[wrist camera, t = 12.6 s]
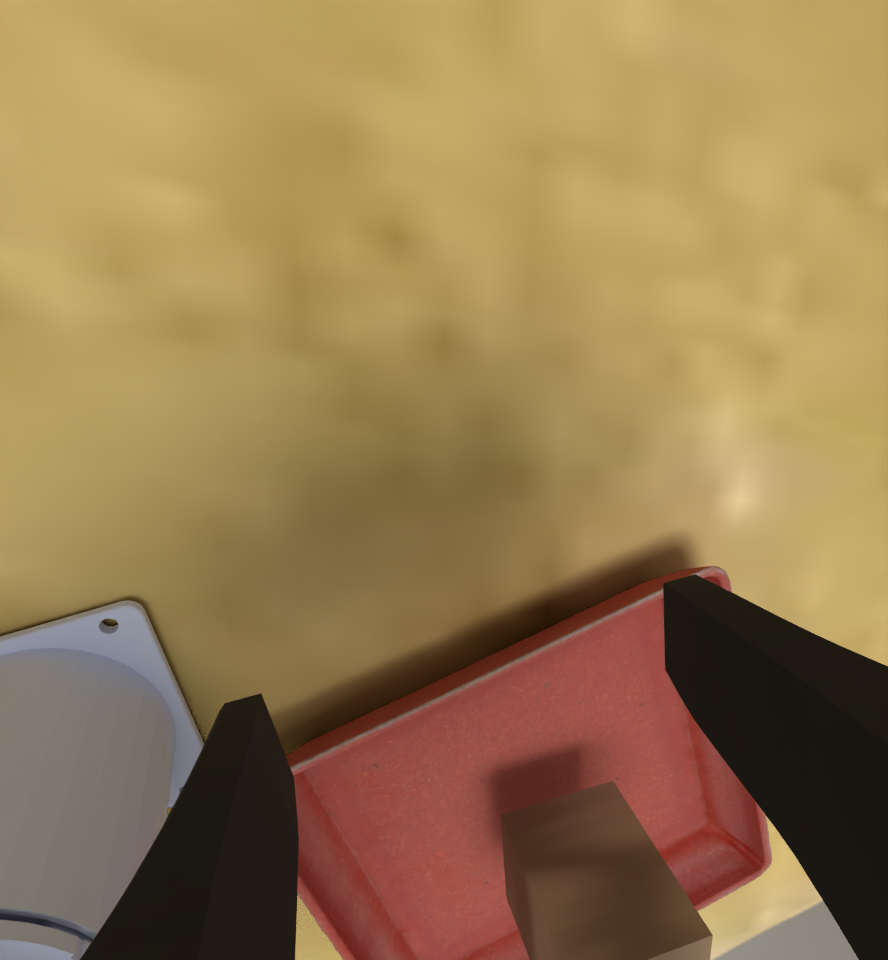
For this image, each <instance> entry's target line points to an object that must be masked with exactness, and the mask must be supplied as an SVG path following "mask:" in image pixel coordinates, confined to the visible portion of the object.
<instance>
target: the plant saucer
mask: <svg viewBox="0 0 888 960" xmlns="http://www.w3.org/2000/svg"><path fill="white" fill-rule="evenodd" d="M694 574H695V575H698V576H700V577H702V578H704V579H706V580H708V581H710V582H712V583H714V584H716V585H718V586H720V587H722V588H724V589H726V590H728V591H730V592H732V590H731V585H730V580H729V578H728V575H727V573H726V571H724V570H723V569H721V568H720V567H717V566H709V567H699V568H692V569H686V570H682V571H678V572H675V573H671V574H668V575H665V576H661V577H658V578H655V579H652V580H649V581H647V582H644V583H641V584H639V585H636V586H634V587H632V588H630V589H628V590H625V591H623V592H621V593H619V594H617V595H615V596H613V597H611V598H609V599H607V600H605V601H603V602H600V603H598V604H596V605H594V606H592V607H590V608H588V609H585V610H583V611H581V612H579V613H577V614H575V615H573V616H571V617H569V618H567V619H565V620H563V621H561V622H559V623H557V624H555V625H553V626H551V627H549V628H547V629H545V630H542V631H540V632H538V633H536V634H534V635H532V636H530V637H528V638H526V639H523V640H521V641H519V642H517V643H515V644H513V645H511V646H509V647H507V648H505V649H503V650H501V651H499V652H496V653H494V654H492V655H490V656H488V657H486V658H484V659H481V660H479V661H477V662H475V663H473V664H471V665H469V666H467V667H465V668H463V669H461V670H458V671H456V672H454V673H452V674H450V675H448V676H446V677H444V678H442V679H439V680H437V681H435V682H433V683H431V684H429V685H427V686H425V687H423V688H421V689H419V690H417V691H414V692H412V693H410V694H408V695H406V696H404V697H402V698H399V699H397V700H395V701H393V702H391V703H389V704H387V705H385V706H382V707H380V708H378V709H376V710H374V711H372V712H370V713H368V714H365V715H363V716H361V717H359V718H357V719H355V720H353V721H351V722H349V723H346V724H344V725H342V726H340V727H338V728H336V729H334V730H332V731H330V732H328V733H325V734H323V735H321V736H319V737H317V738H315V739H313V740H311V741H310V742H308V743H306V744H304V745H303V746H301V747H300V748H298V749H297V750H295V751H293V752H292V753H290V754H289V755H287V756H286V758H287V761H288V763H289V766H290V768H291V771H292V774H293V776H294V783H295V795H296V806H297V819H298V833H299V852H298V885H297V894H298V895H299V897H300V898H301V900H302V901H303V903H304V904H305V906H306V907H307V908H308V910H309V911H310V913H311V914H312V916H313V917H314V918H315V920H316V922H317V924H318V926H319V927H320V928H321V930H322V931H323V932H324V933H325V934H326V935H327V937H328V938H329V940H330V941H331V943H332V944H333V946H334V948H335V949H336V950H337V951H338V952H339V954H340V955H341V957H342V959H343V960H530V959H529V956H528V953H527V951H526V948H525V946H524V943H523V940H522V938H521V935H520V932H519V930H518V927H517V925H516V922H515V919H514V917H513V914H512V911H511V909H510V906H509V904H508V901H507V898H506V886H505V871H504V857H503V843H502V829H501V815H503V814H506V813H510V812H513V811H516V810H519V809H523V808H526V807H529V806H533V805H536V804H539V803H542V802H546V801H549V800H552V799H555V798H559V797H562V796H565V795H569V794H572V793H575V792H578V791H582V790H585V789H588V788H591V787H595V786H598V785H601V784H605V783H608V782H611V781H613V782H614V783H615V785H616V786H617V788H618V789H619V791H620V792H621V794H622V795H623V797H624V799H625V800H626V802H627V803H628V805H629V806H630V808H631V809H632V811H633V813H634V814H635V816H636V817H637V819H638V820H639V822H640V823H641V825H642V827H643V828H644V830H645V831H646V833H647V834H648V836H649V837H650V839H651V840H652V842H653V844H654V845H655V847H656V848H657V850H658V851H659V853H660V854H661V856H662V858H663V859H664V861H665V862H666V864H667V865H668V867H669V868H670V870H671V871H672V873H673V875H674V876H675V878H676V879H677V881H678V882H679V884H680V885H681V887H682V889H683V890H684V892H685V893H686V895H687V896H688V898H689V899H690V901H691V903H692V904H693V906H694V907H695V909H696V910H697V911H699V910H701V909H703V908H705V907H707V906H709V905H710V904H711V903H713V902H715V901H717V900H719V899H721V898H723V897H724V896H726V895H728V894H730V893H732V892H734V891H736V890H737V889H738V888H740V887H742V886H744V885H746V884H748V883H749V882H751V881H753V880H754V879H756V878H757V877H759V876H761V875H762V874H763V873H764V872H765V871H766V870H767V869H768V868H769V866H770V865H771V862H772V852H771V847H770V842H769V832H768V825H767V820H766V815H765V813H764V812H763V811H762V809H761V808H760V807H759V805H758V804H757V803H756V801H755V800H754V799H753V797H752V796H751V795H750V794H749V792H748V791H747V790H746V788H745V787H744V786H743V784H742V783H741V782H740V780H739V779H738V778H737V776H736V775H735V774H734V773H733V771H732V770H731V769H730V767H729V766H728V765H727V763H726V762H725V761H724V759H723V758H722V757H721V755H720V754H719V753H718V751H717V750H716V749H715V747H714V746H713V745H712V743H711V742H710V741H709V739H708V738H707V737H706V735H705V734H704V733H703V731H702V730H701V729H700V727H699V726H698V724H697V723H696V722H695V720H694V719H693V717H692V716H691V714H690V712H689V711H688V709H687V707H686V706H685V704H684V702H683V700H682V699H681V697H680V695H679V694H678V692H677V690H676V688H675V686H674V685H673V683H672V681H671V679H670V677H669V676H668V674H667V672H666V670H665V642H664V594H663V583H665V582H669V581H672V580H676V579H680V578H683V577H687V576H691V575H694Z"/></svg>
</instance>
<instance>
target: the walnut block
mask: <svg viewBox="0 0 888 960" xmlns="http://www.w3.org/2000/svg"><path fill="white" fill-rule="evenodd" d="M501 829H502V843H503V857H504V871H505V886H506V898H507V901H508V904H509V906H510V909H511V911H512V914H513V917H514V919H515V922H516V925H517V927H518V930H519V932H520V935H521V938H522V940H523V943H524V946H525V948H526V951H527V953H528V956H529V959H530V960H710V953H711V945H712V936H713V935H712V934H711V932H710V930H709V929H708V927H707V926H706V924H705V923H704V921H703V920H702V918H701V916H700V915H699V913H698V912H697V910H696V909H695V907H694V906H693V904H692V903H691V901H690V899H689V898H688V896H687V895H686V893H685V892H684V890H683V889H682V887H681V885H680V884H679V882H678V881H677V879H676V878H675V876H674V875H673V873H672V871H671V870H670V868H669V867H668V865H667V864H666V862H665V861H664V859H663V858H662V856H661V854H660V853H659V851H658V850H657V848H656V847H655V845H654V844H653V842H652V840H651V839H650V837H649V836H648V834H647V833H646V831H645V830H644V828H643V827H642V825H641V823H640V822H639V820H638V819H637V817H636V816H635V814H634V813H633V811H632V809H631V808H630V806H629V805H628V803H627V802H626V800H625V799H624V797H623V795H622V794H621V792H620V791H619V789H618V788H617V786H616V785H615V783H614V782H613V781H611V782H608V783H605V784H601V785H598V786H595V787H591V788H588V789H585V790H582V791H578V792H575V793H572V794H569V795H565V796H562V797H559V798H555V799H552V800H549V801H546V802H542V803H539V804H536V805H533V806H529V807H526V808H523V809H519V810H516V811H513V812H510V813H506V814H503V815H501Z"/></svg>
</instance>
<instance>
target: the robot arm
mask: <svg viewBox="0 0 888 960" xmlns="http://www.w3.org/2000/svg"><path fill="white" fill-rule="evenodd" d="M663 594H664V642H665V670H666V672H667V674H668V676H669V677H670V679H671V681H672V683H673V685H674V686H675V688H676V690H677V692H678V694H679V695H680V697H681V699H682V700H683V702H684V704H685V706H686V707H687V709H688V711H689V712H690V714H691V716H692V717H693V719H694V720H695V722H696V723H697V724H698V726H699V727H700V729H701V730H702V731H703V733H704V734H705V735H706V737H707V738H708V739H709V741H710V742H711V743H712V745H713V746H714V747H715V749H716V750H717V751H718V753H719V754H720V755H721V757H722V758H723V759H724V761H725V762H726V763H727V765H728V766H729V767H730V769H731V770H732V771H733V773H734V774H735V775H736V776H737V778H738V779H739V780H740V782H741V783H742V784H743V786H744V787H745V788H746V790H747V791H748V792H749V794H750V795H751V796H752V797H753V799H754V800H755V801H756V803H757V804H758V805H759V807H760V808H761V809H762V811H763V812H764V813H765V815H766V816H767V817H768V819H769V820H770V821H771V823H772V824H773V825H774V826H775V828H776V829H777V830H778V832H779V833H780V835H781V836H782V838H783V839H784V840H785V842H786V843H787V845H788V846H789V848H790V849H791V850H792V852H793V853H794V855H795V856H796V858H797V859H798V861H799V863H800V864H801V866H802V867H803V869H804V871H805V872H806V874H807V875H808V877H809V879H810V880H811V882H812V883H813V885H814V887H815V888H816V890H817V891H818V893H819V895H820V896H821V898H822V899H823V901H824V903H825V904H826V906H827V907H828V909H829V910H830V912H831V914H832V915H833V917H834V919H835V920H836V922H837V924H838V925H839V927H840V929H841V930H842V932H843V934H844V935H845V937H846V939H847V940H848V942H849V944H850V945H851V947H852V949H853V951H854V952H855V954H856V956H857V957H858V959H859V960H888V666H886V665H883V664H881V663H878V662H876V661H874V660H871V659H869V658H867V657H864V656H862V655H860V654H858V653H855V652H853V651H851V650H848V649H846V648H844V647H841V646H839V645H837V644H835V643H833V642H830V641H828V640H826V639H824V638H822V637H820V636H817V635H815V634H813V633H811V632H809V631H807V630H805V629H803V628H801V627H799V626H797V625H795V624H793V623H791V622H789V621H787V620H784V619H782V618H781V617H779V616H777V615H775V614H773V613H771V612H769V611H767V610H765V609H763V608H761V607H759V606H757V605H755V604H753V603H751V602H749V601H747V600H745V599H743V598H741V597H739V596H737V595H735V594H734V593H732V592H730V591H728V590H726V589H724V588H722V587H720V586H718V585H716V584H714V583H712V582H710V581H708V580H706V579H704V578H702V577H700V576H698V575H695V574H694V575H691V576H687V577H683V578H680V579H676V580H672V581H669V582H665V583H663ZM110 618H111V619H113V620H115V621H116V622H117V623H118V624H117V625H115V626H107V625H104V623H103V622H102V620H104V619H110ZM171 807H173V808H172V809H171V811H170V813H169V815H168V817H167V812H168V808H171ZM298 852H299V833H298V819H297V806H296V795H295V783H294V776H293V774H292V771H291V768H290V766H289V763H288V761H287V758H286V756H285V753H284V751H283V748H282V745H281V743H280V740H279V738H278V735H277V733H276V730H275V728H274V725H273V722H272V720H271V717H270V715H269V712H268V710H267V707H266V705H265V702H264V699H263V697H262V694H258V695H254V696H250V697H247V698H243V699H239V700H236V701H232V702H229V703H225V704H224V705H223V707H222V708H221V710H220V712H219V714H218V716H217V718H216V720H215V722H214V725H213V727H212V729H211V731H210V733H209V735H208V737H207V740H206V742H205V744H204V742H203V740H202V738H201V736H200V733H199V731H198V729H197V727H196V724H195V722H194V720H193V718H192V715H191V713H190V711H189V708H188V706H187V704H186V702H185V699H184V697H183V695H182V693H181V690H180V688H179V686H178V684H177V681H176V679H175V677H174V675H173V672H172V670H171V668H170V666H169V663H168V661H167V659H166V657H165V654H164V652H163V650H162V647H161V645H160V643H159V641H158V638H157V636H156V634H155V632H154V629H153V627H152V625H151V623H150V620H149V618H148V616H147V614H146V611H145V609H144V608H143V607H142V605H140V604H139V603H137V602H135V601H130V600H127V601H121V602H117V603H114V604H110V605H107V606H103V607H100V608H97V609H93V610H90V611H86V612H83V613H79V614H76V615H73V616H69V617H66V618H62V619H59V620H55V621H52V622H48V623H45V624H42V625H38V626H35V627H31V628H28V629H24V630H21V631H17V632H14V633H11V634H7V635H4V636H0V960H295V941H296V913H297V885H298Z"/></svg>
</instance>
